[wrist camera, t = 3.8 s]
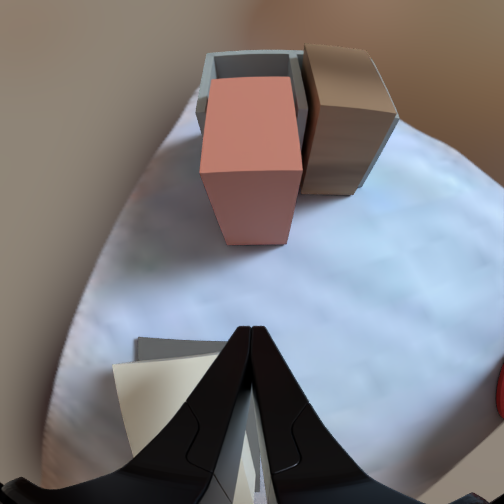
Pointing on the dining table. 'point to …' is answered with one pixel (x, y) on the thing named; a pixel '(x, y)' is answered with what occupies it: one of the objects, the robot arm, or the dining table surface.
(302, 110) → the socket block
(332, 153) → the walnut plug
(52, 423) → the dining table surface
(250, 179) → the salmon pink block
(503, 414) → the canned food
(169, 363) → the cream rectangular block
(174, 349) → the rubber mat
